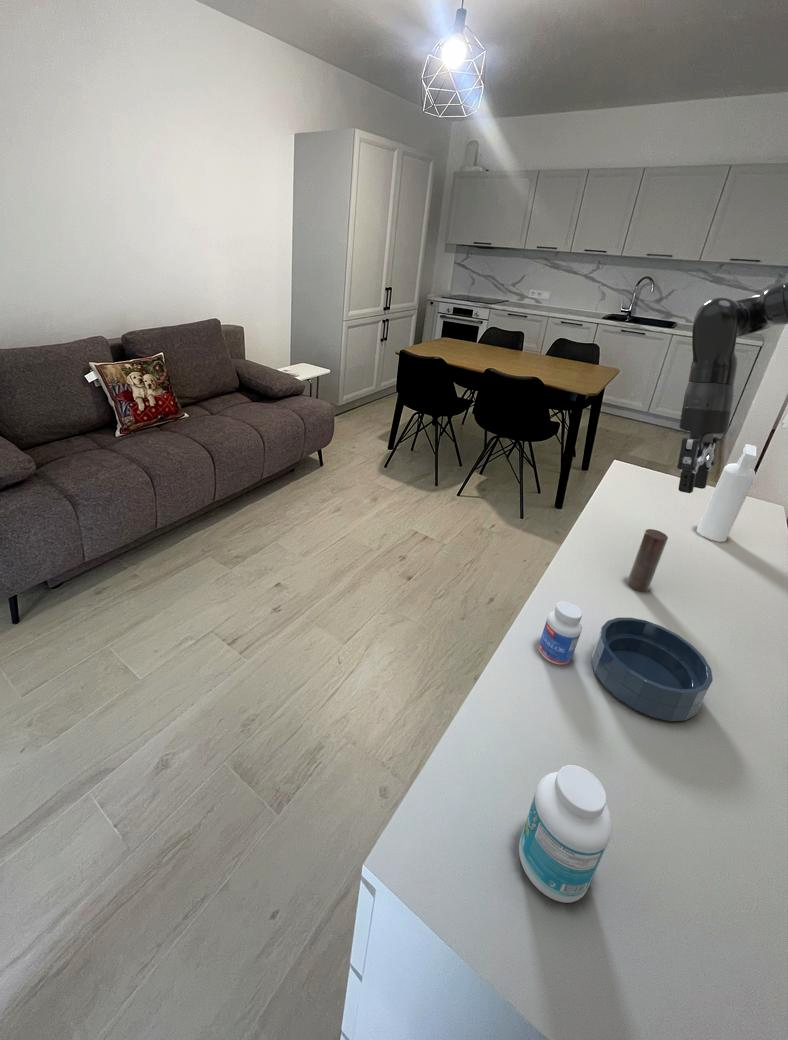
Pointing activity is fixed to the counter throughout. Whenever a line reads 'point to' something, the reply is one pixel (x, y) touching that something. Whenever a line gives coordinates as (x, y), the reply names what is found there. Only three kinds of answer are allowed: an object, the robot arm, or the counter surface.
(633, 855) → the counter surface
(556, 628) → the pill bottle
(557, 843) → the pill bottle
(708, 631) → the counter surface
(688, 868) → the counter surface
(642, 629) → the bowl
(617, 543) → the counter surface
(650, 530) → the brown wooden dowel
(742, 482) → the white spray bottle
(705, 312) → the robot arm
